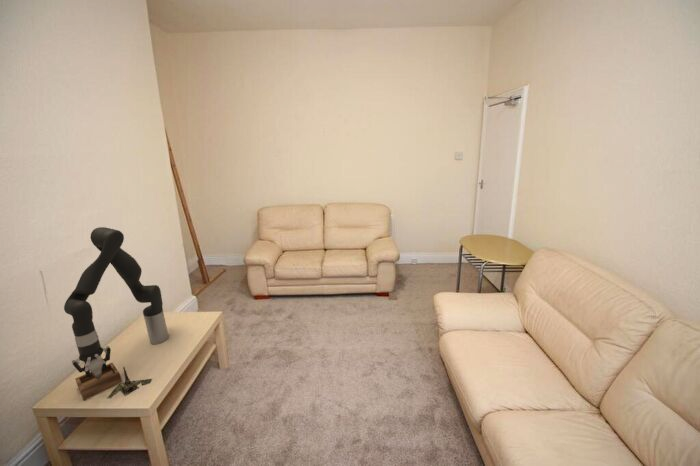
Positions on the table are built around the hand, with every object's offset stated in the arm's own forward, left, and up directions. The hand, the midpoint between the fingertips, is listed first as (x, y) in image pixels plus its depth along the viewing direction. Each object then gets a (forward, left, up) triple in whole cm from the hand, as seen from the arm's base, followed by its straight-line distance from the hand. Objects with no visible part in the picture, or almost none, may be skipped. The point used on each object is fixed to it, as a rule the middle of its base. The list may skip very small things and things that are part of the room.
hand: (97, 373), depth 141 cm
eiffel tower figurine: (+14, +8, -7) cm, 18 cm away
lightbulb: (0, 0, -3) cm, 3 cm away
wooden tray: (0, 0, -6) cm, 6 cm away
